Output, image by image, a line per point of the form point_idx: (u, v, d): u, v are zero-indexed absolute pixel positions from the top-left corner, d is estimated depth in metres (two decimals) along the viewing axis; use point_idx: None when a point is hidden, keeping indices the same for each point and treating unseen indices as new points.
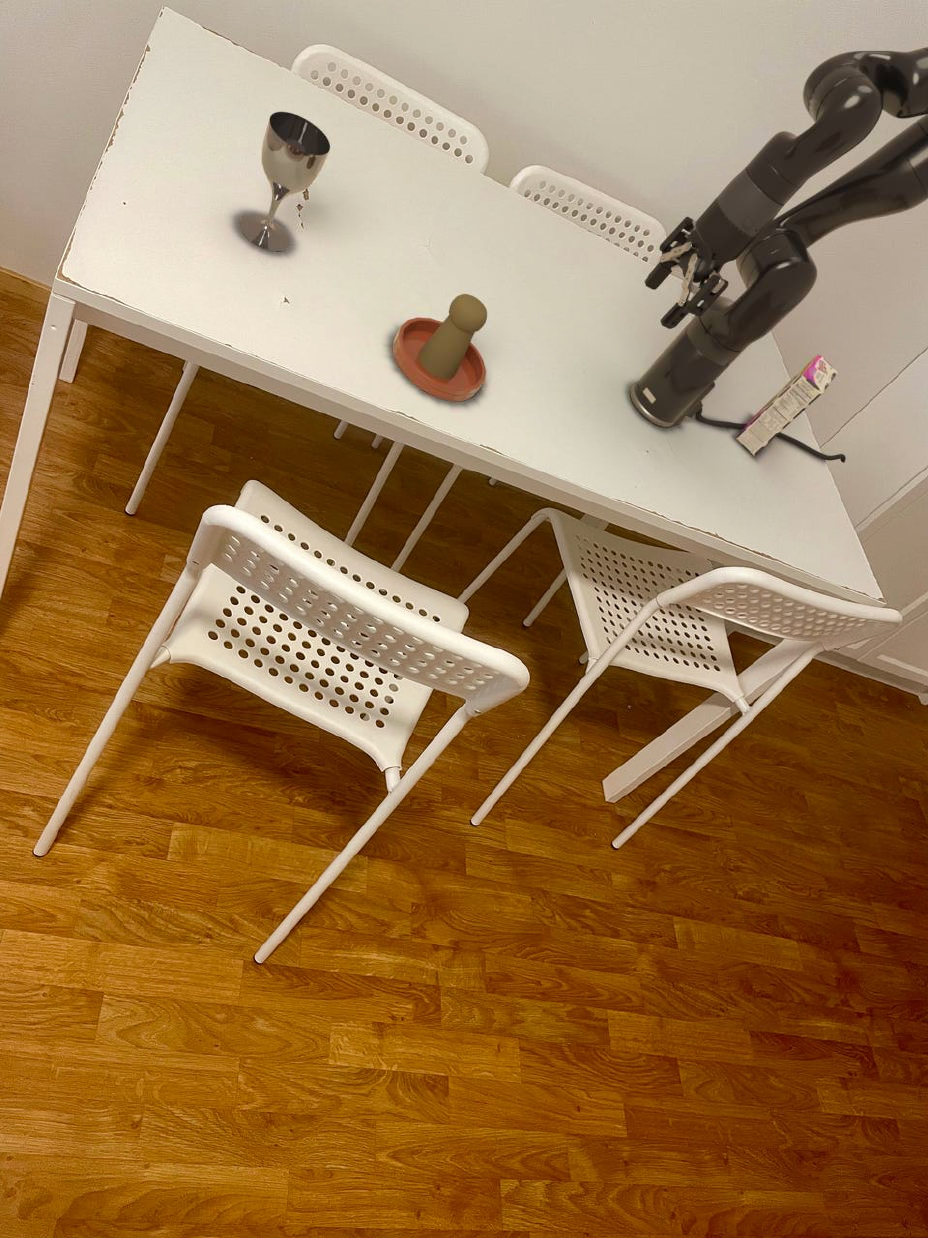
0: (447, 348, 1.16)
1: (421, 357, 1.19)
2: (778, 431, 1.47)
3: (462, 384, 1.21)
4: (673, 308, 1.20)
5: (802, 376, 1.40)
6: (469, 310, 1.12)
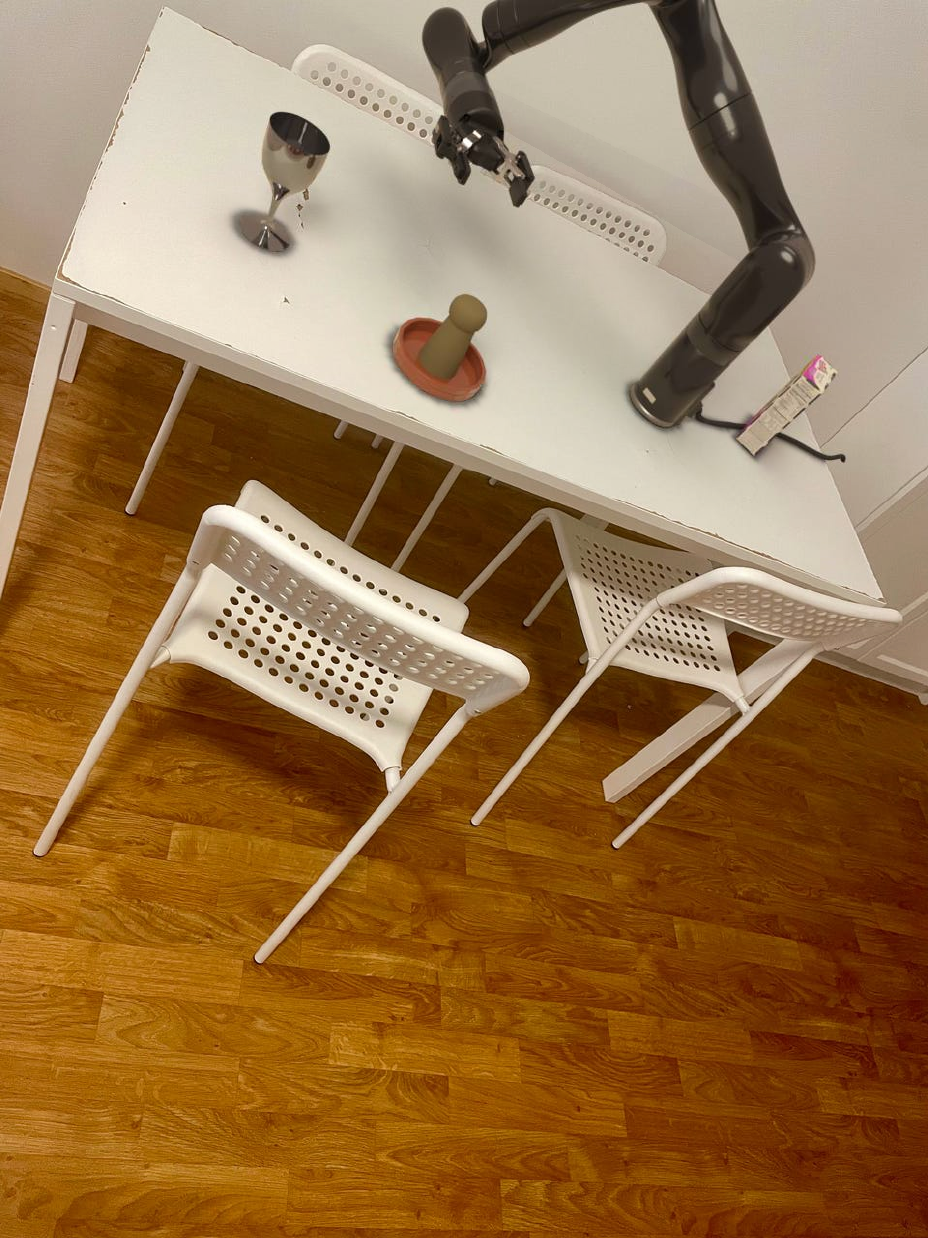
0: (447, 348, 1.16)
1: (421, 357, 1.19)
2: (778, 431, 1.47)
3: (462, 384, 1.21)
4: None
5: (802, 376, 1.40)
6: (469, 310, 1.12)
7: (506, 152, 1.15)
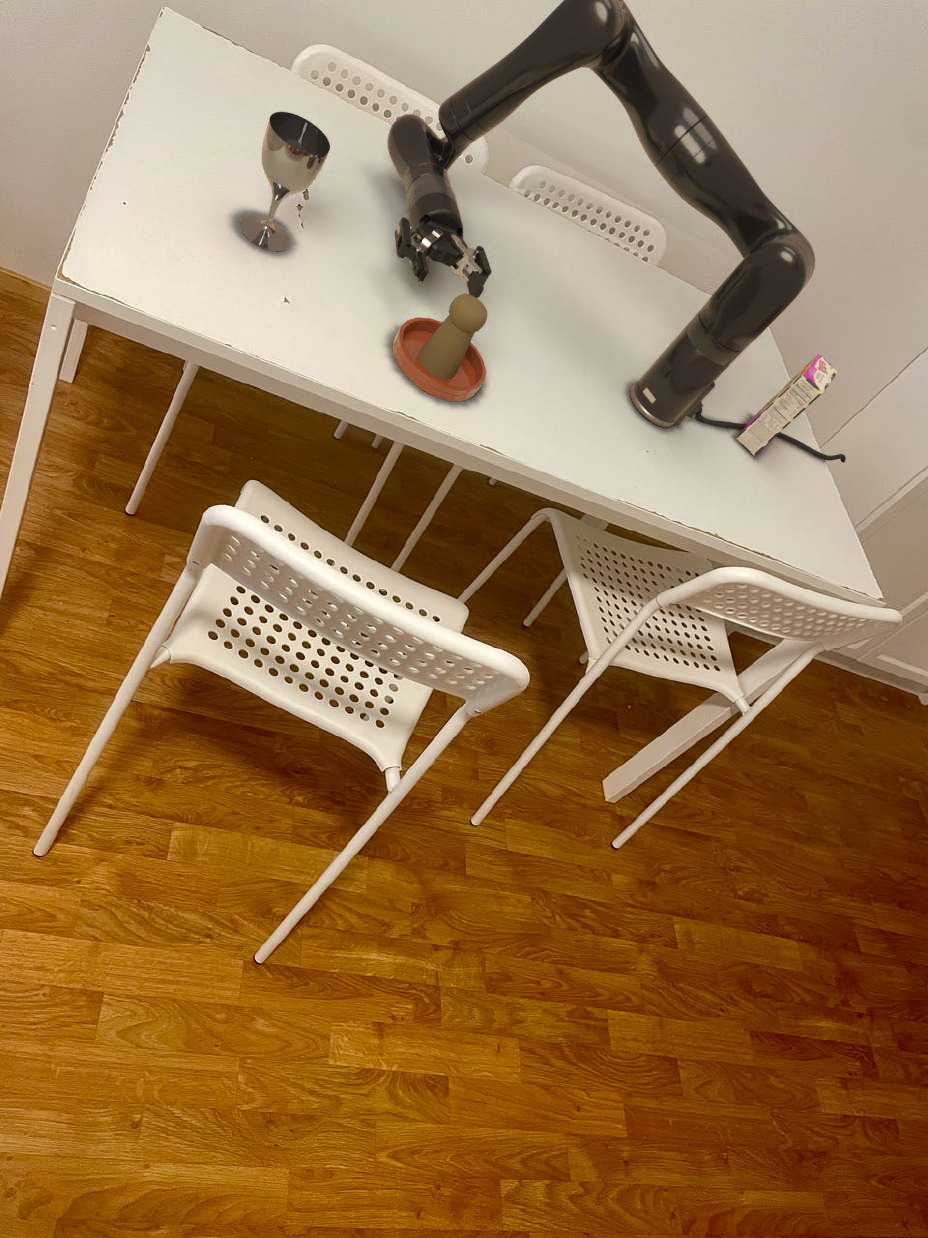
0: (447, 348, 1.16)
1: (421, 357, 1.19)
2: (778, 431, 1.47)
3: (462, 384, 1.21)
4: None
5: (802, 376, 1.40)
6: (469, 310, 1.12)
7: (464, 249, 1.23)
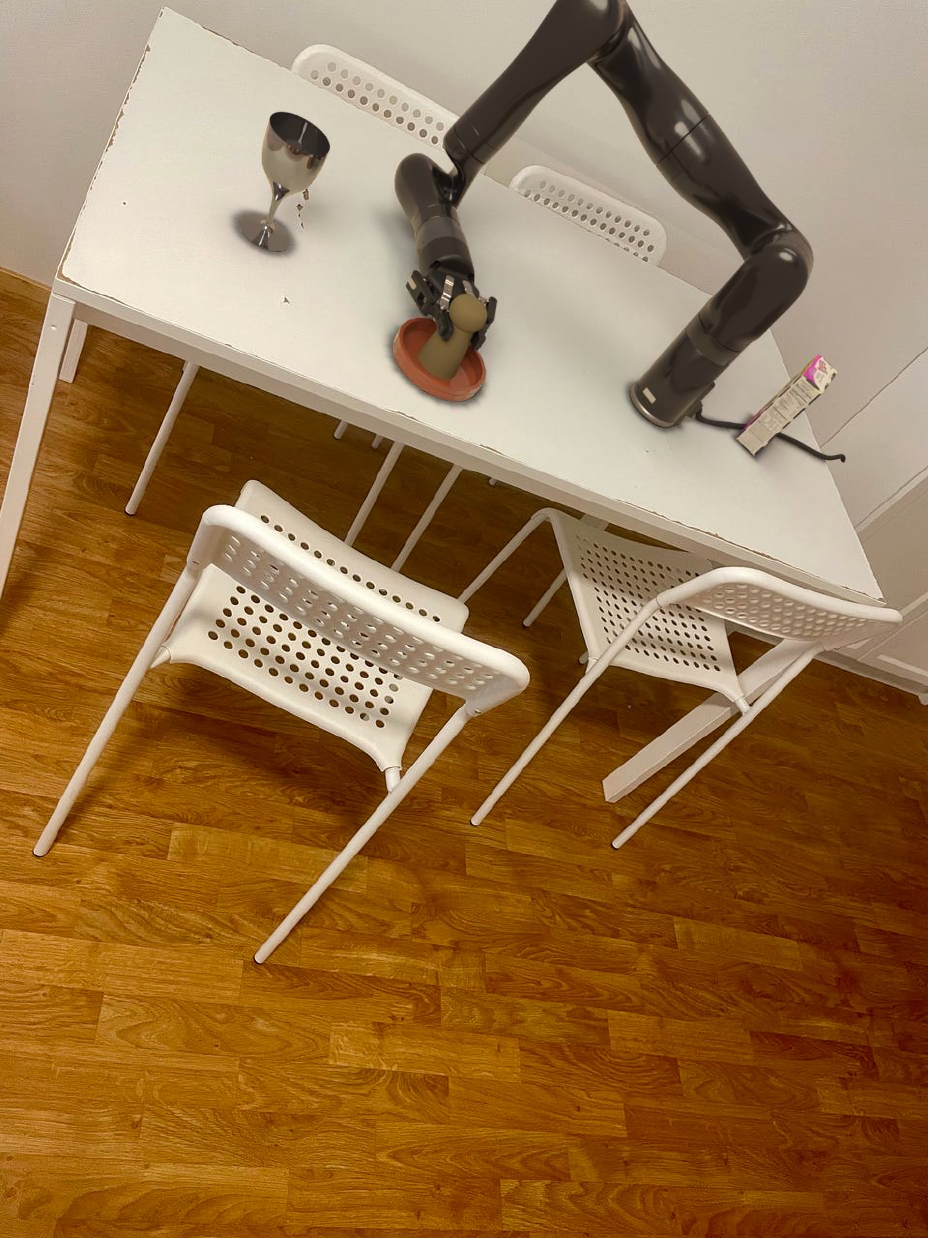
0: (447, 348, 1.16)
1: (421, 357, 1.19)
2: (778, 431, 1.47)
3: (462, 384, 1.21)
4: None
5: (802, 376, 1.40)
6: (469, 310, 1.12)
7: None
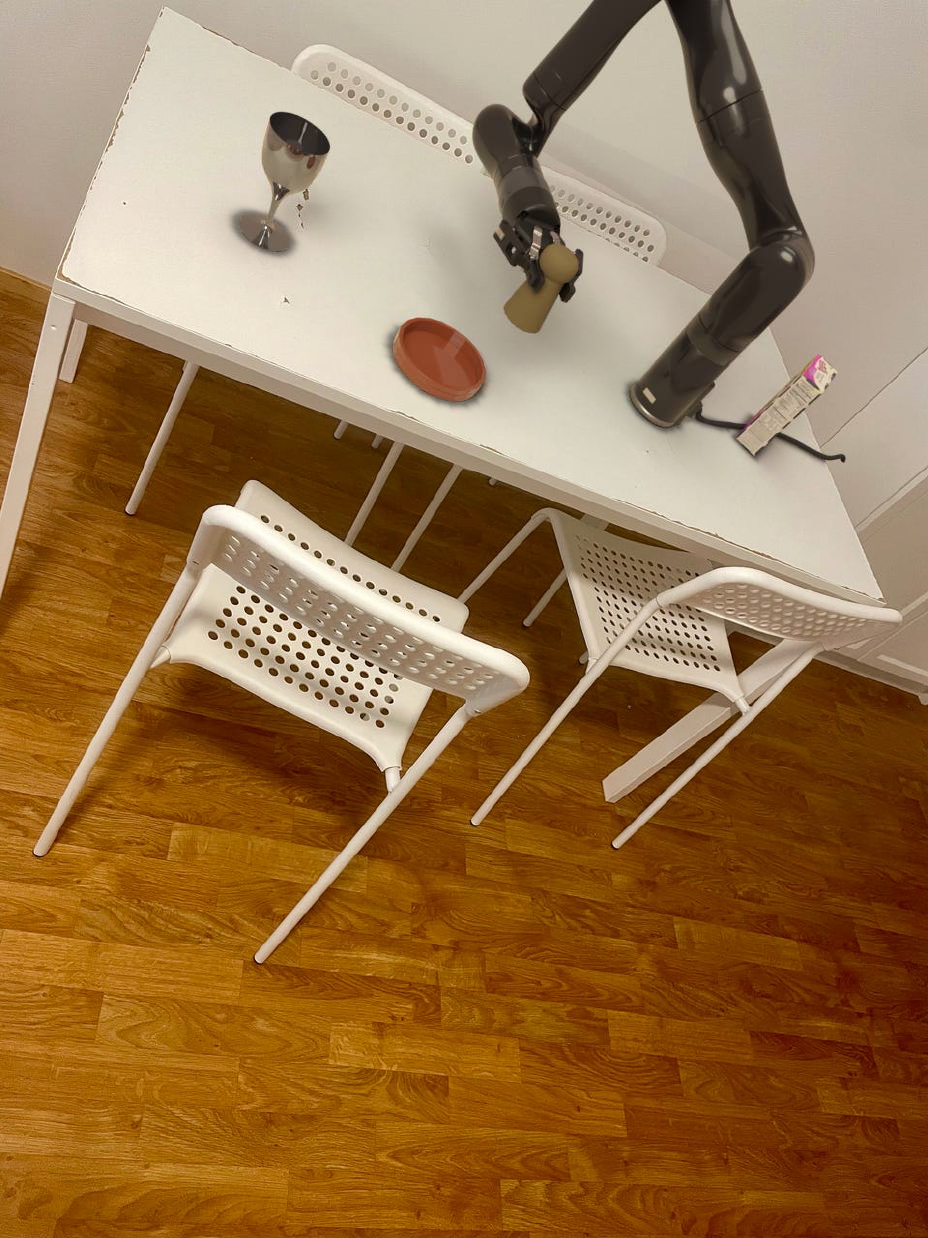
0: (536, 300, 1.13)
1: (507, 310, 1.16)
2: (778, 431, 1.47)
3: (462, 384, 1.21)
4: None
5: (802, 376, 1.40)
6: (562, 259, 1.09)
7: None
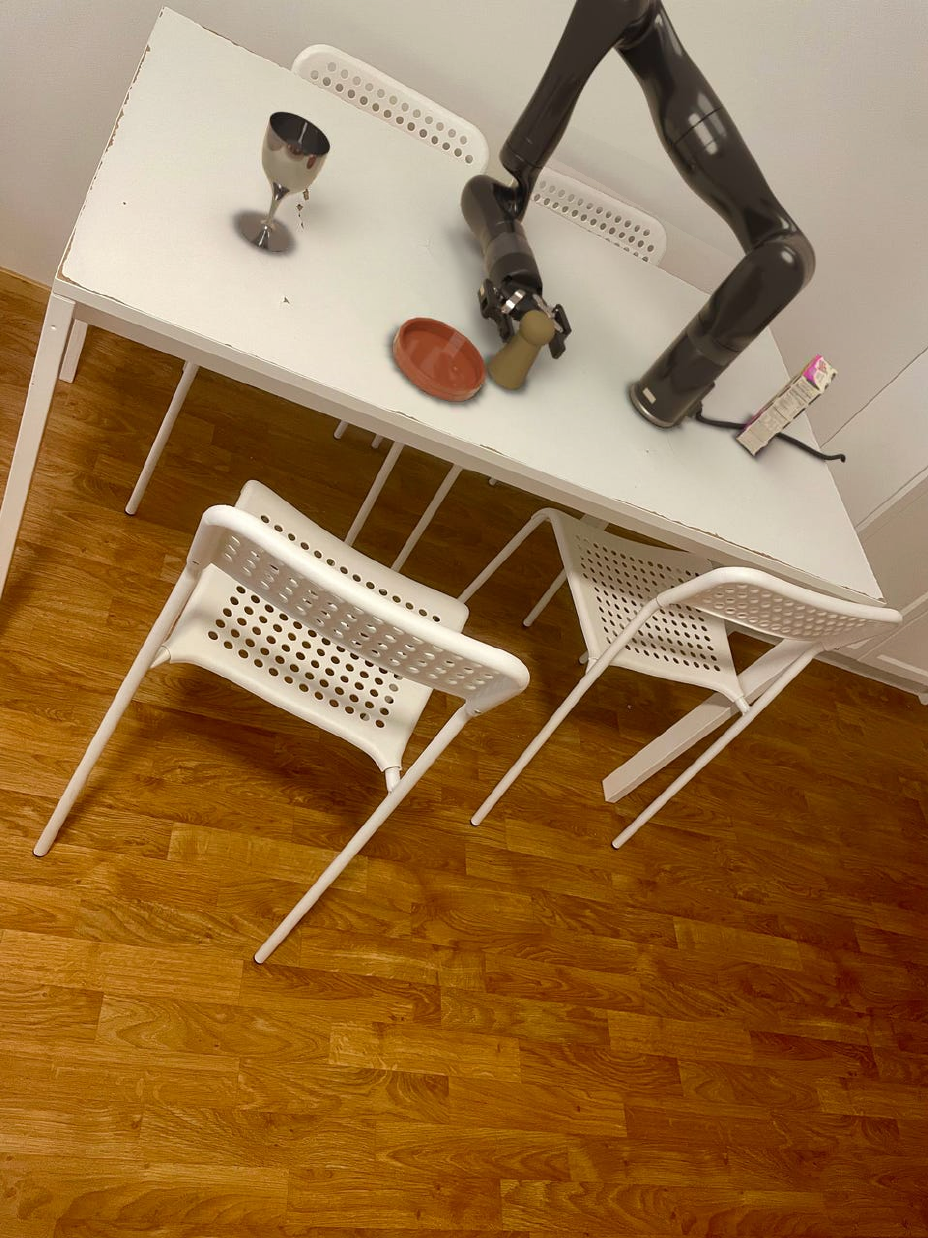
0: (516, 361, 1.23)
1: (490, 369, 1.26)
2: (778, 431, 1.47)
3: (462, 384, 1.21)
4: None
5: (802, 376, 1.40)
6: (539, 325, 1.19)
7: (545, 309, 1.25)
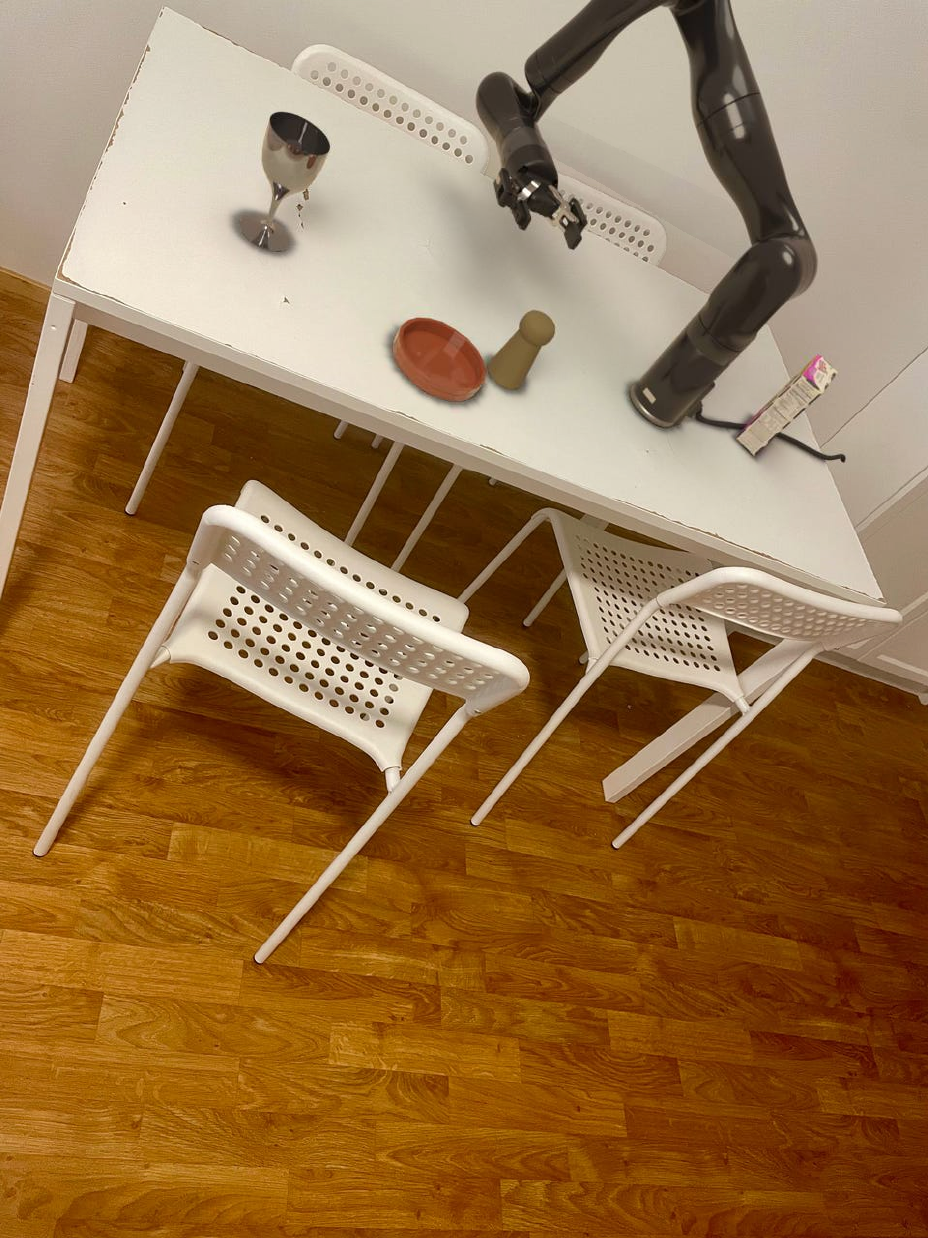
0: (516, 361, 1.23)
1: (490, 369, 1.26)
2: (778, 431, 1.47)
3: (462, 384, 1.21)
4: None
5: (802, 376, 1.40)
6: (539, 325, 1.19)
7: (561, 199, 1.24)
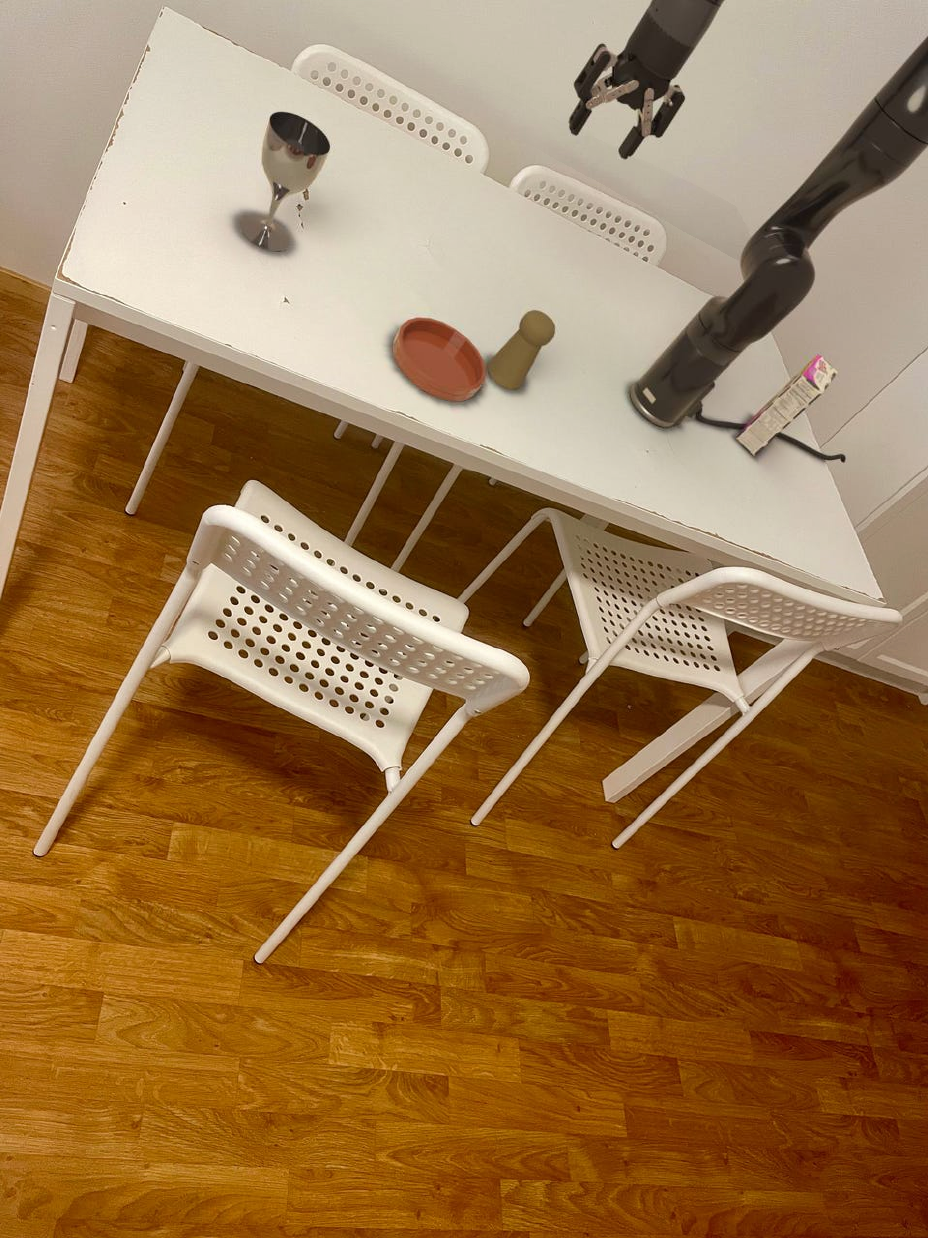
0: (516, 361, 1.23)
1: (490, 369, 1.26)
2: (778, 431, 1.47)
3: (462, 384, 1.21)
4: None
5: (802, 376, 1.40)
6: (539, 325, 1.19)
7: (648, 109, 1.12)
